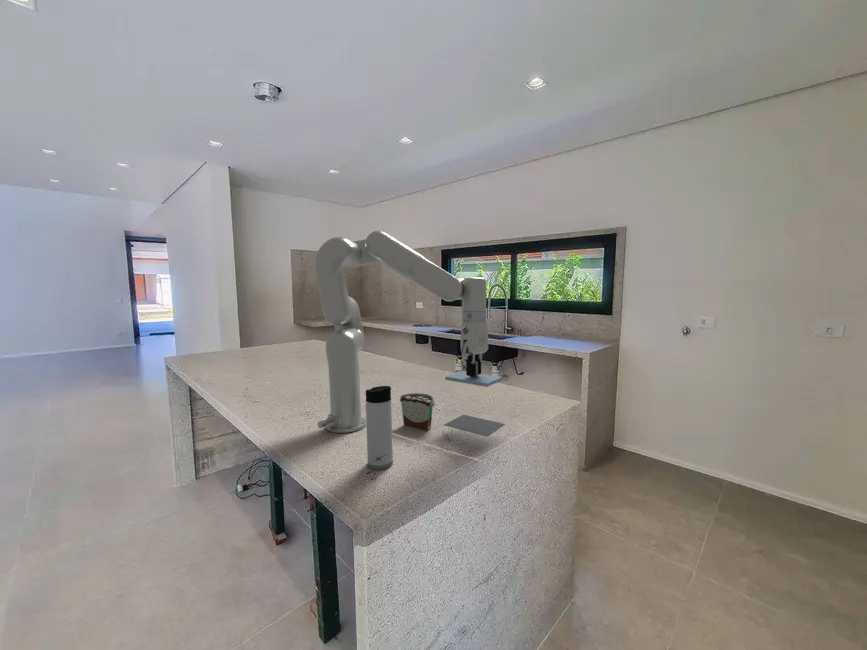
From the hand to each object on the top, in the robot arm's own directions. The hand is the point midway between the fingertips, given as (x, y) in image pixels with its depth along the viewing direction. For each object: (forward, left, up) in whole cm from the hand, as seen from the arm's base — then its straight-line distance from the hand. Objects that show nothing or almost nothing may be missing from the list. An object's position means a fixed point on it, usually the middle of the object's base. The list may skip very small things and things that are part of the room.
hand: (473, 374), depth 114 cm
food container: (-10, +14, -17) cm, 24 cm away
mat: (0, 0, -17) cm, 17 cm away
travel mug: (-36, +6, -17) cm, 40 cm away
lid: (0, 0, -2) cm, 2 cm away
